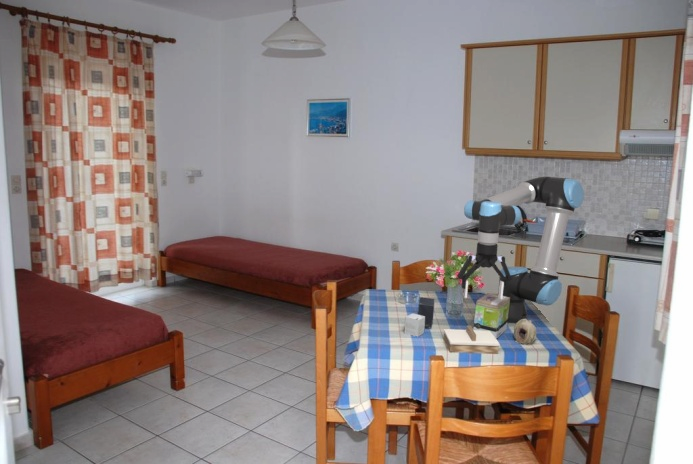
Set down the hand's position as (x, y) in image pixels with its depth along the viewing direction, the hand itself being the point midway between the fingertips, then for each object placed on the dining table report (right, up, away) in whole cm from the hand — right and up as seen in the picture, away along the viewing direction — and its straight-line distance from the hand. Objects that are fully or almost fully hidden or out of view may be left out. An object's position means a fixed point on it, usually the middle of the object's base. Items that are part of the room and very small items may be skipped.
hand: (482, 297), depth 212 cm
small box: (-19, -15, +24) cm, 34 cm away
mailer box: (-4, -19, +2) cm, 20 cm away
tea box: (+7, -17, +18) cm, 26 cm away
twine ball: (+19, -19, +8) cm, 28 cm away
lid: (-4, -16, +1) cm, 16 cm away
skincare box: (-24, -16, +14) cm, 32 cm away
